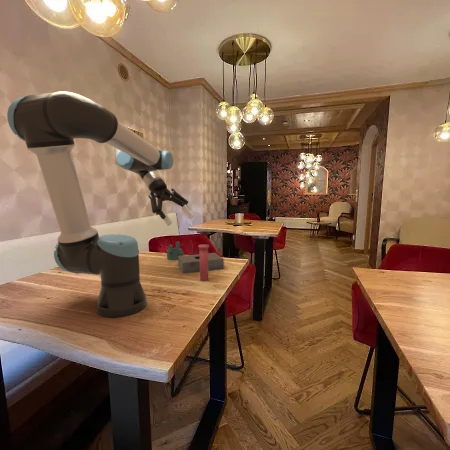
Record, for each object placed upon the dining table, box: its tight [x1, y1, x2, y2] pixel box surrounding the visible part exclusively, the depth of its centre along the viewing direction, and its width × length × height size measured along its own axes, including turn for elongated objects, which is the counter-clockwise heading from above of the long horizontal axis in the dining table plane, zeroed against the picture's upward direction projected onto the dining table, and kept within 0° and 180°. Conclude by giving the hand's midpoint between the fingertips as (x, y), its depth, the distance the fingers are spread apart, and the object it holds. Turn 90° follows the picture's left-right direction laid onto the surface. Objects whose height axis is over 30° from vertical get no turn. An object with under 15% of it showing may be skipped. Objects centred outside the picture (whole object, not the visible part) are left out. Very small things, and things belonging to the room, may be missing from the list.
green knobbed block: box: [166, 241, 184, 261], centre depth 147 cm, size 9×9×9 cm
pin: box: [198, 244, 210, 282], centre depth 109 cm, size 4×4×15 cm
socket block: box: [177, 252, 225, 274], centre depth 129 cm, size 20×14×5 cm
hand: (181, 220), depth 113 cm, fingers open, 13 cm apart
